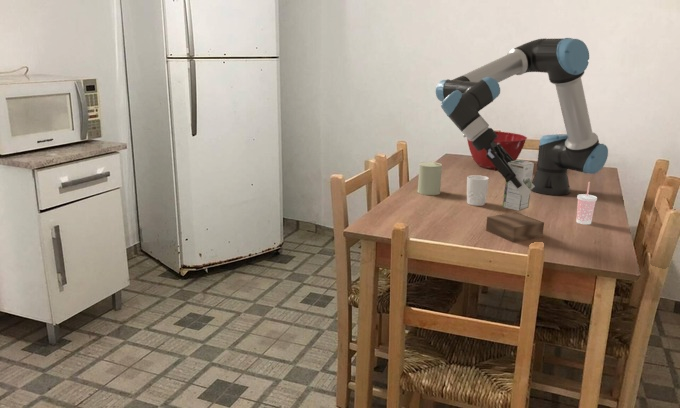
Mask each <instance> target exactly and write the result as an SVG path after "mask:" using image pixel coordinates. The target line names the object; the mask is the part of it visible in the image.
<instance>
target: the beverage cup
mask: <svg viewBox="0 0 680 408" xmlns="http://www.w3.org/2000/svg"><path fill="white" fill-rule="evenodd" d="M590 184H591V181H588V183H587V190H586V193H585V194H584V193H583V194H582V193H581V194H579V193H578V194H577V197H576V199H577V206H576V220H575V222H576V223H577V224H581V225H592V220H593V216H594V211H595V206H596V201H597V200H598V197H597V196H596V195H592V194H589V191H590Z"/></svg>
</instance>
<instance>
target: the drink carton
mask: <svg viewBox="0 0 680 408" xmlns="http://www.w3.org/2000/svg"><path fill="white" fill-rule="evenodd" d="M508 165H509V166H510V168H511V169H512V171H513V172H514V173H515V174H516V176H517V175H518V177H519V178H520V179H521V180H522V181H523V182H524V184H525V185H526V186H527V187H528V188H529V189H530V191H531V192H532V190H531V183H532V181H533V176H534V175H533V174H534V168H535V167H534V166H535V163H534V162H531V161H529V160H523V159H516V160H515V161H511V162H508ZM530 196H531V193H530V194H529V195H527V196H526V197H523V196H522V195H521V194H520V193H519V192H518V190H517V189H516V188H515V187H514V186H513V184H512V183H511V182H510V181H509V182H508V183H507V182H506V181H505V185H504V192H503V200H502V201H503V202H502V207H503V208H505V209H510V210H512V211H513V210H515V211H522V210H525V209H528V208H529V204H530V198H531V197H530Z"/></svg>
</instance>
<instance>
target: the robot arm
mask: <svg viewBox="0 0 680 408" xmlns="http://www.w3.org/2000/svg"><path fill="white" fill-rule="evenodd" d="M589 51H590V50H589V48H588V46H587V44H586V43H585V42H584V41H583V40H582V39H579V38H572V37H565V38H546V37H545V38H538V39H534V40H531V41H528V42H525V43H523V44H521V45H518V46H516V47H514V48H512V49H510V50H509V51H508V52H507V54H505V55H504V56H501V57H499V58H498V59H495V60H493V61H490V62H488V63H485V64H484V65H483V66H480V67H478V68H475V69H473V70H471V71H469V72H467V73H465V74H462V75H460V76H457V77H455V78H453V79H448V78H447V79H443V80H440V81H439V82H438V83H437V84H436V87H435V96H436V99H437V100H439V101H440V102H441V103H440V107H441V109H442V110H443V112H444V113H445V115H446V116H447V117H448V118H449V120H451V121H452V122H453V124H454V125H455V126H456V127H457V128H458V130H459V131H460V132H462V134H463V135H462V136H463V138H466V139H468V140H469V141H473V142H472V145H473V146H474V147H475V148H476V149H477V151H481V150H482V149H485V150H486V152H487V154H486V157H487V158H488V159H489V160H490V161H491V162H492V163H493V164H494V166H495V167H496V168H497V169H496V170H498V172H499V173H500V175H501V176H502V177H503V179H504V180H505V183H506V182H507V183H508V182H509V181H510V182H511V183H512V184H513V186H514V187H515V188H516V189H517V190H518V192H519V193H520V194H521V195H522V196H523V197H526V196H527V195H529V194H530V195H531V193H532V192H534V193H537V194H542V195H551V196H563V195H568V194H569V193H570V190H571V187H570V182H569V177H568V170H570V171H575V172H579V173H583V174H592V175H593V174H598V173H599V172H600V171H601V170H602V169H603V168H604V166H605V164H606V162H607V161H608V157H609V148H608V146H607V145H606V144H604V143H600V140H599V136H598V134H597V133H595V132H593V129H592V125H591V120H590V119H591V118H590V114H589V111H588V104H587V101H586V96H585V91H584V87H583V81H582V77H583V76H584V74H585V71H586V70H587V68H588V66H589V60H590V52H589ZM526 73H545V74H546V73H547V75H548V80H549V82H550V83H551V84H553V85H555V89H556V93H557V97H558V98H557V99H558V102H559V106H560V110H561V113H562V118H563V119H562V120H563V123H564V128H565V132H566V133H564V134H563V133H561V134H560V133H559V134H557V133H556V134H545V135H543V136H541V138H540V141H539V144H538V155H537V164H536V172H535V174H534V175H533V177H532V183H531V191H530V189H529V188H528V187H527V186H526V185H525V184H524V182H523V181H522V180H521V179H520V178H519V177H518V175H517V176H516V174H515V173H514V172H513V171H512V169H511V168H510V166H509V165H508V162H511V161H515V160H514V159H513V158H512V157H511V156H510V155H509V154H508V153H507V152H506V150H505V149H504V148H503V147H502V145H501V144H498V145H497V144H496V143H495V142H494V140H495V139H496V138H497V137H498V135H497V134H496V133H495V132H494V131H495V130H494V129H493V128H492V127H490V125H489V123H488V121H486V120H485V119H484V117H482V115H481V114H480V113H479V112H480V111H481V110H483V109H484V108H486V107H487V106H488V105H490V104H491V103H493V102H494V100H496V99H497V98H498V97H499V96H500V94H501V87H500V84H499V83H500V82H502V81H504V80H507V79H508V78H511V77H513V76H522V75H523V74H526Z"/></svg>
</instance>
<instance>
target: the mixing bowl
mask: <svg viewBox="0 0 680 408" xmlns="http://www.w3.org/2000/svg"><path fill="white" fill-rule="evenodd" d="M494 132H495V133H496V134H497V135H498V137H497V138H496V139H495V140H494V142H495V143H496V144H497V145H498V144H501V145H502V147H503V148H504V149H505V150H506V152H507V153H508V154H509V155H510V156H511V157H512V158H513V159H514V160H518V158H519V156H520V154H521V153H522V150H523V148H524V146H525V143H526V141H527V139H528V137H527V136H526V135H522V134H519V133H515V132H513V133H512V132H507V131H495V130H494ZM466 139H467V138H466ZM472 142H473V141H469V140H468V139H467V145H468V148H469V152H470V154H471V156H472V158H473V160H474V161H473V162H475V163H476V164H477V165H478V166H479V167H480V166H481V168H483V167H484V168H483V169H487V168H491V169H490V170H498V169H497V168H496V167H495V166H494V164H493V163H492V162H491V161H490V160H489V159H488V158H487V157H486V154H487V152H486V150H485V149H482V150H481V151H477V149H476V148H475V147H474V146H473V145H472Z"/></svg>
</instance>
